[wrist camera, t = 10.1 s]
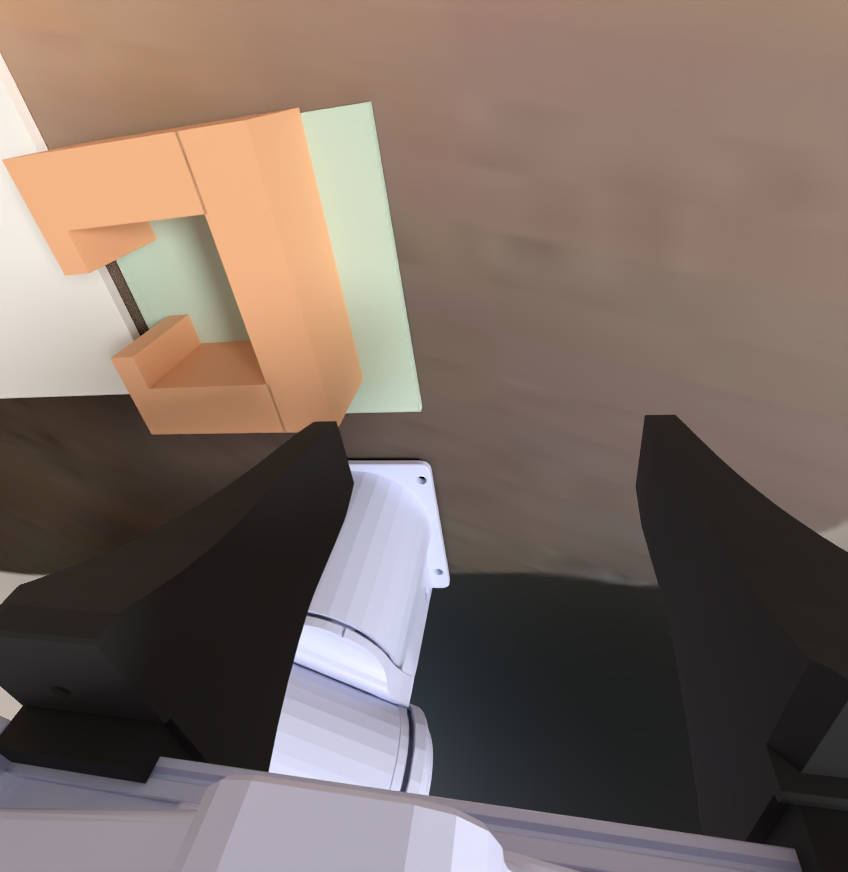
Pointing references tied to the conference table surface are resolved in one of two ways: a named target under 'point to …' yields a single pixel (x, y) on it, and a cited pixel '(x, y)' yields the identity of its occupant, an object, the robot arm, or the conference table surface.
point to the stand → (49, 291)
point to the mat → (352, 247)
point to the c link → (242, 259)
